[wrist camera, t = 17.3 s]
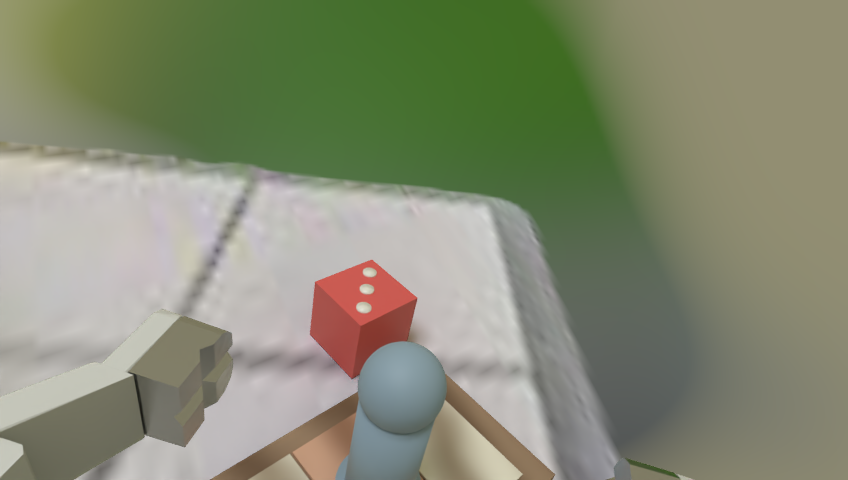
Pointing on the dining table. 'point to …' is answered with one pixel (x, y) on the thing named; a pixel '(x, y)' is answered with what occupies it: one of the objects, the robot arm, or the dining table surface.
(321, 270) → the dining table surface
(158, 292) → the dining table surface
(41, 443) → the robot arm
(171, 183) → the dining table surface
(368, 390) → the pawn
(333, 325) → the red die
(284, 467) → the game track
